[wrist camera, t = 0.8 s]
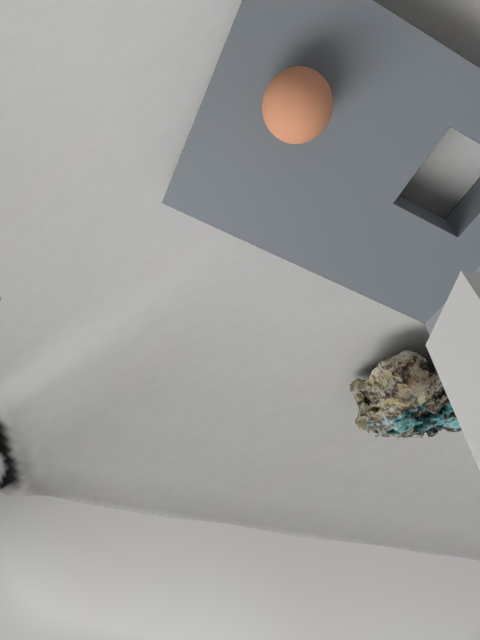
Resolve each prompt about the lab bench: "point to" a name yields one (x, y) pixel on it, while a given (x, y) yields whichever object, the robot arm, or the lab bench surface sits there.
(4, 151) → the lab bench surface
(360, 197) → the grey flat block
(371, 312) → the lab bench surface
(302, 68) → the ball
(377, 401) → the mineral specimen
